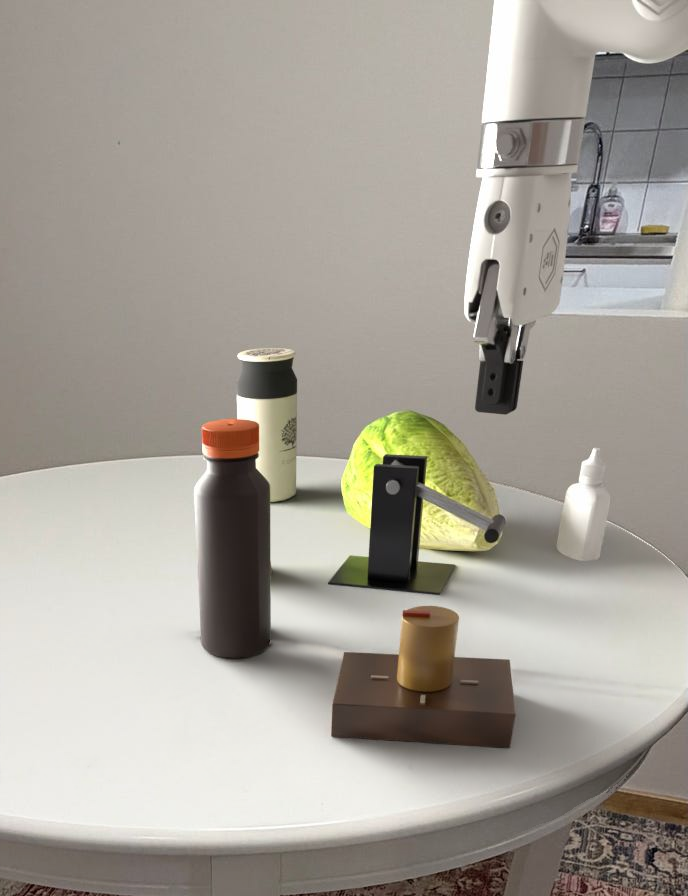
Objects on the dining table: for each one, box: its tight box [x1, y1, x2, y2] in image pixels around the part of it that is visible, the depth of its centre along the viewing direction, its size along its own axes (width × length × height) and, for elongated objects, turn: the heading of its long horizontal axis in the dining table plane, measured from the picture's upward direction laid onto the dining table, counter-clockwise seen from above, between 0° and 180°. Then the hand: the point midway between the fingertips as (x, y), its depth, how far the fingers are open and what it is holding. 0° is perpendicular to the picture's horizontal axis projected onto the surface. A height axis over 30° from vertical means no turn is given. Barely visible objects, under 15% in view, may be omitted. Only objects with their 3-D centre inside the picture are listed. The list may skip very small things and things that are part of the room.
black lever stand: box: [327, 454, 456, 596], centre depth 100 cm, size 12×9×13 cm
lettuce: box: [340, 409, 504, 552], centre depth 111 cm, size 15×24×14 cm, turn 22°
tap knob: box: [397, 605, 460, 692], centre depth 76 cm, size 4×4×6 cm
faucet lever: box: [391, 460, 507, 543], centre depth 97 cm, size 13×5×2 cm, turn 68°
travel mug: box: [236, 347, 298, 503], centre depth 128 cm, size 8×8×18 cm
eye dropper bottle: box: [556, 447, 611, 562], centre depth 104 cm, size 4×6×12 cm
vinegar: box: [193, 418, 272, 659], centre depth 87 cm, size 7×7×20 cm
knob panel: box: [330, 651, 516, 749], centre depth 79 cm, size 14×10×3 cm
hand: (495, 410), depth 83 cm, fingers closed
